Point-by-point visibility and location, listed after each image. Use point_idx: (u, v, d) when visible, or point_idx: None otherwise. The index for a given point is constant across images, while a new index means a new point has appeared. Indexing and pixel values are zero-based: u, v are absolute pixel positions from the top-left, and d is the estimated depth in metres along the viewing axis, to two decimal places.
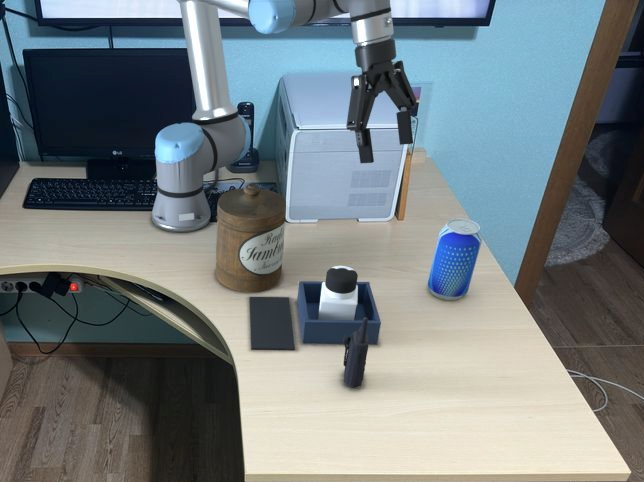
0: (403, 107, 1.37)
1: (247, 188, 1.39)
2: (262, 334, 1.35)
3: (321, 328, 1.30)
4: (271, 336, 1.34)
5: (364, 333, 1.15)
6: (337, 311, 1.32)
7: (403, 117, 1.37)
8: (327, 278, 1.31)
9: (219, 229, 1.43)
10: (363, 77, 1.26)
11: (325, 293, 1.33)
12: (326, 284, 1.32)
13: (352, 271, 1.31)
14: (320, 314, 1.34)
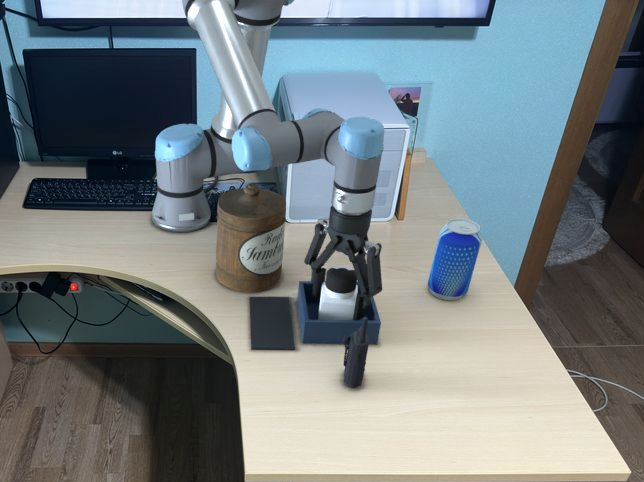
0: None
1: (247, 188, 1.39)
2: (262, 334, 1.35)
3: (321, 328, 1.30)
4: (271, 336, 1.34)
5: (364, 333, 1.15)
6: (337, 311, 1.32)
7: None
8: (327, 278, 1.31)
9: (219, 229, 1.43)
10: (316, 227, 1.29)
11: (325, 293, 1.33)
12: (326, 284, 1.32)
13: (352, 271, 1.31)
14: (320, 314, 1.34)
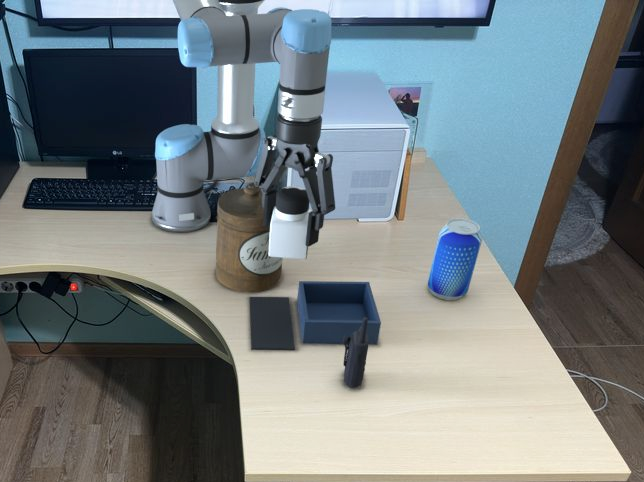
0: None
1: (247, 188, 1.39)
2: (262, 334, 1.35)
3: (321, 328, 1.30)
4: (271, 336, 1.34)
5: (364, 333, 1.15)
6: (289, 236, 1.22)
7: None
8: (277, 198, 1.20)
9: (219, 229, 1.43)
10: (264, 141, 1.18)
11: (276, 216, 1.23)
12: (276, 205, 1.21)
13: (304, 190, 1.20)
14: (271, 239, 1.23)
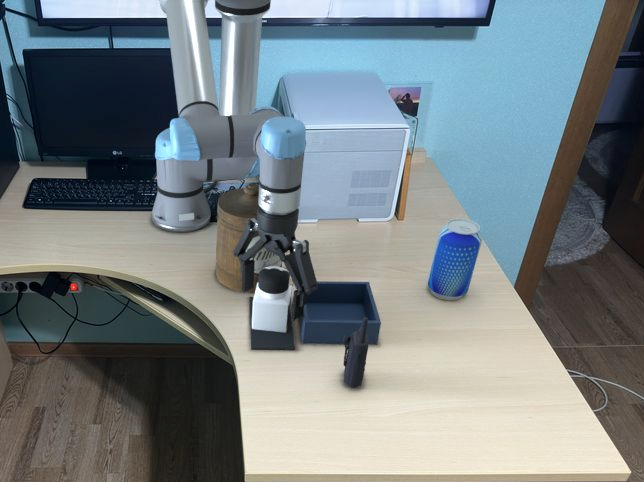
0: None
1: (247, 188, 1.39)
2: (262, 334, 1.35)
3: (321, 328, 1.30)
4: (271, 336, 1.34)
5: (364, 333, 1.15)
6: (270, 312, 1.32)
7: None
8: (259, 278, 1.31)
9: (219, 229, 1.43)
10: (247, 223, 1.29)
11: (258, 293, 1.33)
12: (258, 284, 1.32)
13: (284, 271, 1.31)
14: (253, 314, 1.34)
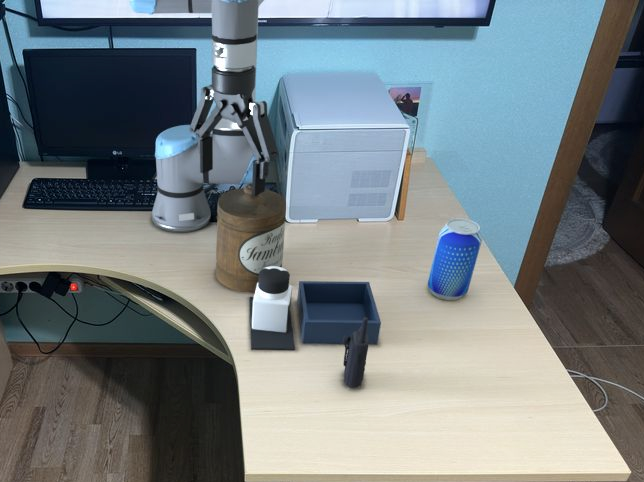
0: None
1: (247, 188, 1.39)
2: (262, 334, 1.35)
3: (321, 328, 1.30)
4: (271, 336, 1.34)
5: (364, 333, 1.15)
6: (270, 312, 1.32)
7: None
8: (259, 278, 1.31)
9: (219, 229, 1.43)
10: (202, 90, 1.20)
11: (258, 293, 1.33)
12: (258, 284, 1.32)
13: (284, 271, 1.31)
14: (253, 314, 1.34)
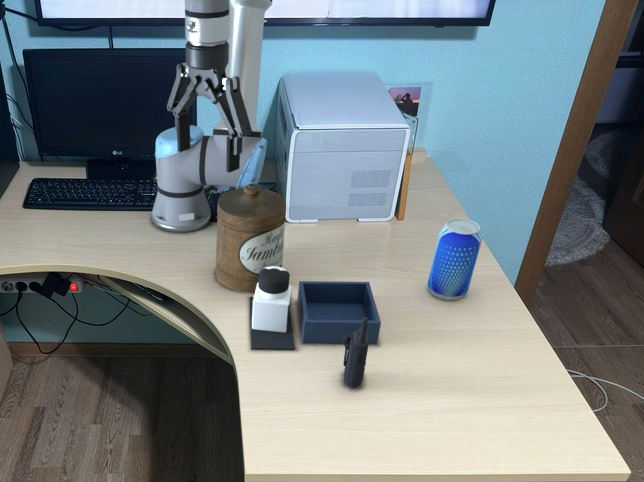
0: None
1: (247, 188, 1.39)
2: (262, 334, 1.35)
3: (321, 328, 1.30)
4: (271, 336, 1.34)
5: (364, 333, 1.15)
6: (270, 312, 1.32)
7: None
8: (259, 278, 1.31)
9: (219, 229, 1.43)
10: (178, 67, 1.21)
11: (258, 293, 1.33)
12: (258, 284, 1.32)
13: (284, 271, 1.31)
14: (253, 314, 1.34)
